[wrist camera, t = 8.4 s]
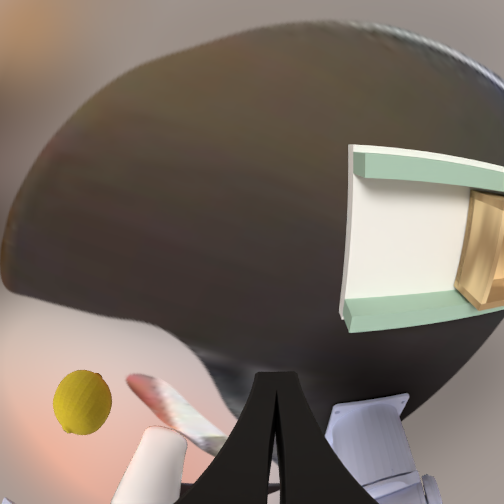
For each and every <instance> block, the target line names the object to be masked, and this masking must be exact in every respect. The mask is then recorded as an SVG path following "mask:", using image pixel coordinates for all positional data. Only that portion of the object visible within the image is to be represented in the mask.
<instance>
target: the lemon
mask: <svg viewBox="0 0 504 504" xmlns="http://www.w3.org/2000/svg"><path fill="white" fill-rule="evenodd" d="M111 406H112V397H111V392H110V390H109V387H108V385H107V384H106V382H105V381H104V380H103V379H102V376H101V375H100V374H99V373H93V372H91V371H87V370H77V371H74V372H72V373H70V374H68V375H67V376H66V377H65V378H64V379H63V380H62V381H61V382H60V384H59V386H58V388H57V390H56V392H55V395H54V399H53V408H54V413H55V415H56V418H57V420H58V421H59V423H60V424H61V425H62V428H63V430H64V431H65V432H67V433H74V434H78V435H87V434H91V433H93V432H95V431H97V430H98V429H99V428H100V427H101V426H102V425H103V424H104V422H105V421H106V419H107V417H108V415H109V413H110V410H111Z"/></svg>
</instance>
